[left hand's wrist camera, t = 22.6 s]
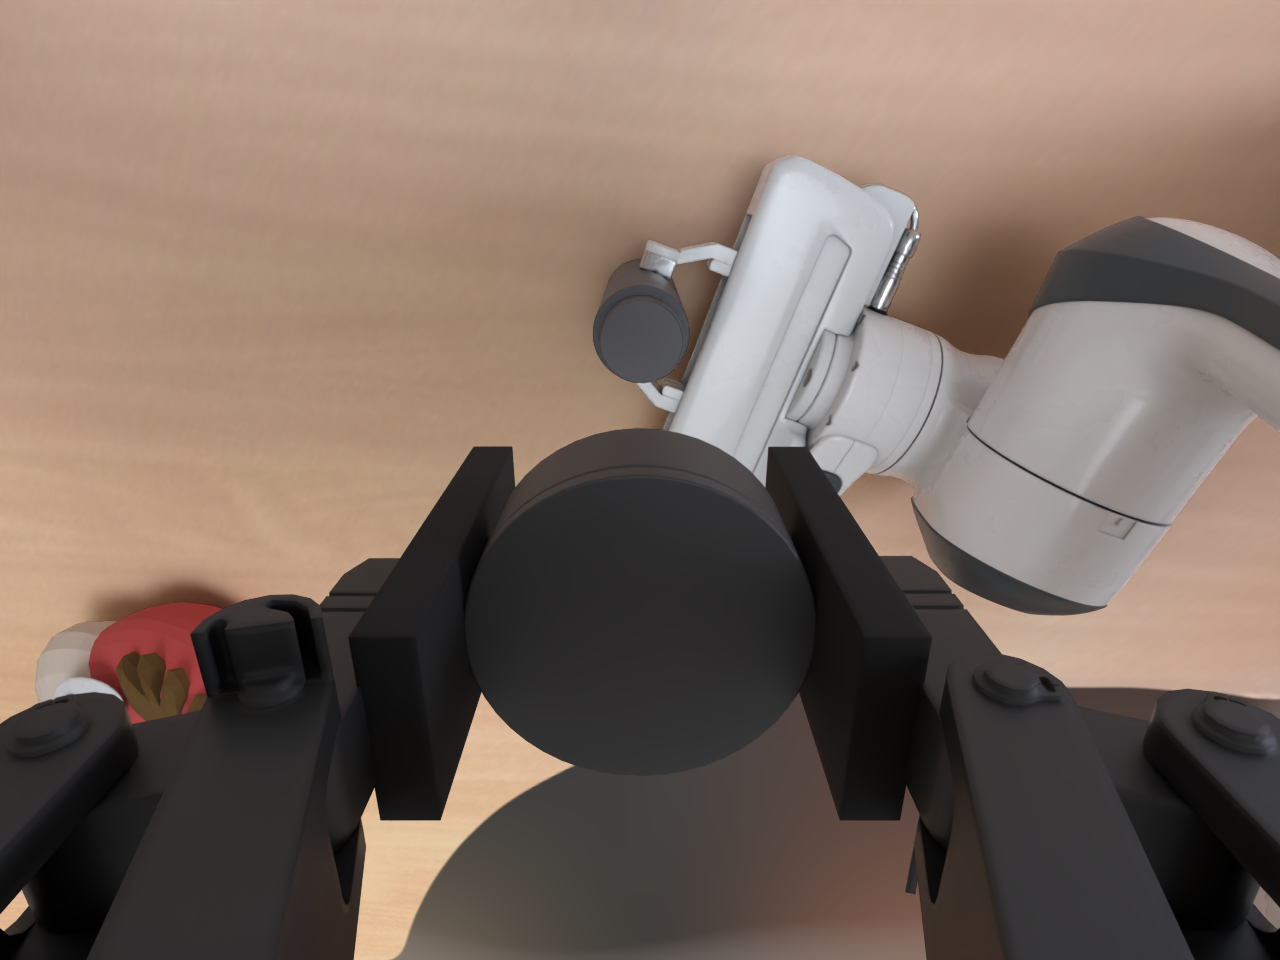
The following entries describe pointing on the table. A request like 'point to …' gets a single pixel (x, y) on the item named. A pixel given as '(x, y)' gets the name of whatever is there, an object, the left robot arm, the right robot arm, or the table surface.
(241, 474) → the table surface
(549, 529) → the lid
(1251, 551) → the table surface
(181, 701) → the toy
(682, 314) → the dark grey bottle
